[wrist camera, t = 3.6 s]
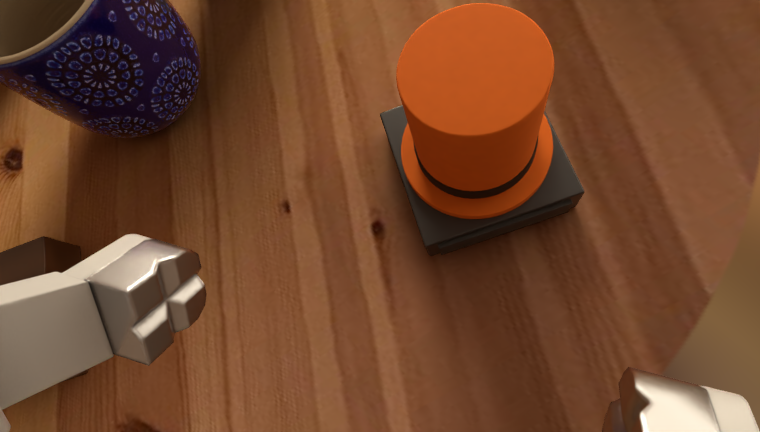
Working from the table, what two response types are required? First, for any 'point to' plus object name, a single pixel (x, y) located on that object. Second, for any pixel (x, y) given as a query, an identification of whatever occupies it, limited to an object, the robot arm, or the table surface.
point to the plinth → (38, 261)
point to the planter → (101, 61)
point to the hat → (476, 110)
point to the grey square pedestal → (457, 233)
